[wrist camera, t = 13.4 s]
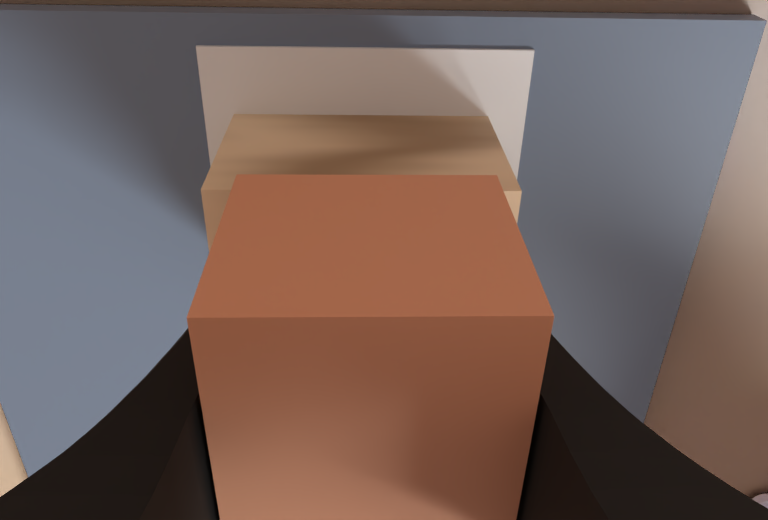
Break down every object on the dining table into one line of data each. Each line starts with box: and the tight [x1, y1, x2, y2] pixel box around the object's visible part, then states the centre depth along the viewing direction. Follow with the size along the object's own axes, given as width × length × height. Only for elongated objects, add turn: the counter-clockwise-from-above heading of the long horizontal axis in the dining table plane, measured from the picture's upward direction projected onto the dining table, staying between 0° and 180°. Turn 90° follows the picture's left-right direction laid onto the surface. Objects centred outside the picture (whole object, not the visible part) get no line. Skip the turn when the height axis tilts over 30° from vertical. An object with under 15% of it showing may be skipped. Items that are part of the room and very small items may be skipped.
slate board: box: [0, 4, 766, 477], centre depth 20 cm, size 20×19×1 cm
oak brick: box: [201, 114, 522, 252], centre depth 16 cm, size 6×4×4 cm
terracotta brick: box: [187, 174, 554, 520], centre depth 11 cm, size 6×4×4 cm
